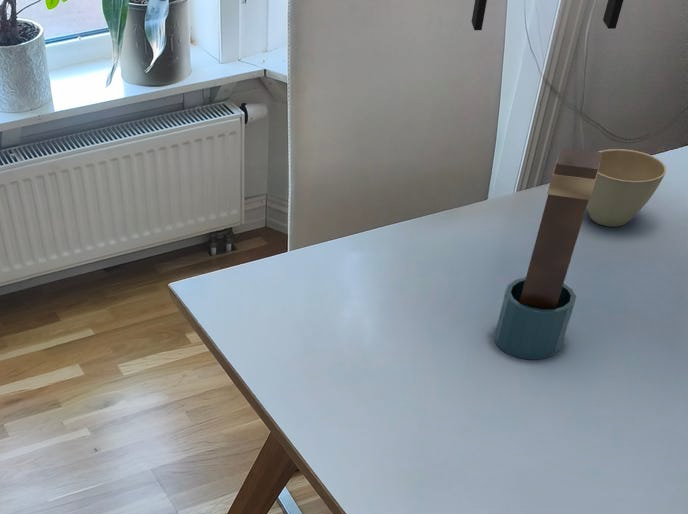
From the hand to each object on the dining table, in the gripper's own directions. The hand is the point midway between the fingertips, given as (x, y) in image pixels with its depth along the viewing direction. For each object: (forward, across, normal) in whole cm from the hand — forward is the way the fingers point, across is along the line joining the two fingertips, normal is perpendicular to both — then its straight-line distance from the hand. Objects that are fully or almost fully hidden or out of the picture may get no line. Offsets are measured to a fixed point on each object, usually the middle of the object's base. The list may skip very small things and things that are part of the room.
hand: (542, 25), depth 92 cm
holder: (+28, -3, +15) cm, 32 cm away
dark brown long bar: (+27, -3, +15) cm, 31 cm away
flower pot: (+28, -19, -16) cm, 37 cm away
